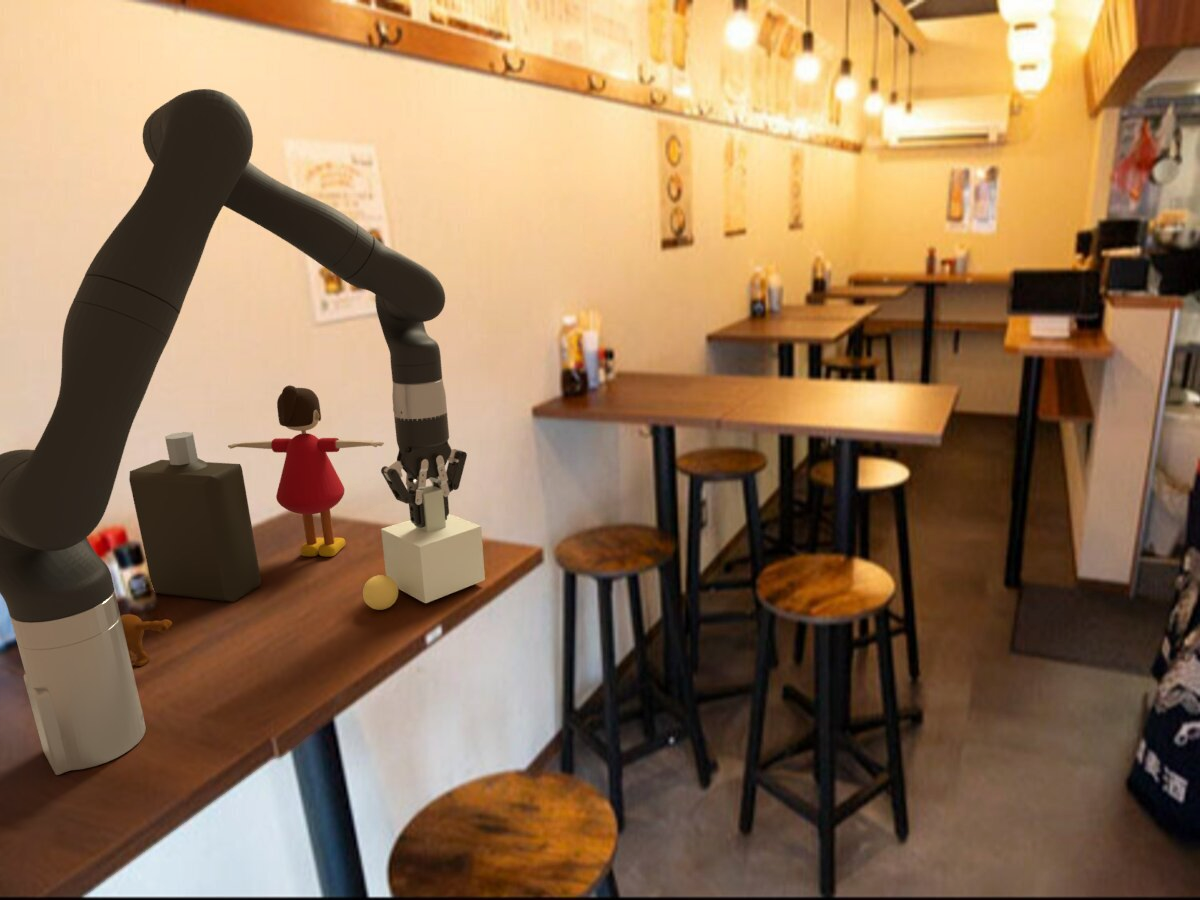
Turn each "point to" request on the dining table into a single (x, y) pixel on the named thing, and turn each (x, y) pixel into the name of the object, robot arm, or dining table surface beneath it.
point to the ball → (380, 592)
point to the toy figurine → (140, 635)
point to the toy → (308, 468)
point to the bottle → (195, 524)
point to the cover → (434, 552)
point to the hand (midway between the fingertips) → (430, 522)
